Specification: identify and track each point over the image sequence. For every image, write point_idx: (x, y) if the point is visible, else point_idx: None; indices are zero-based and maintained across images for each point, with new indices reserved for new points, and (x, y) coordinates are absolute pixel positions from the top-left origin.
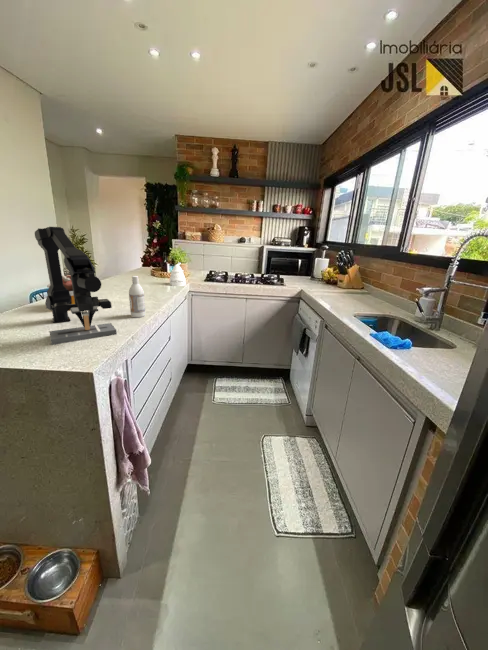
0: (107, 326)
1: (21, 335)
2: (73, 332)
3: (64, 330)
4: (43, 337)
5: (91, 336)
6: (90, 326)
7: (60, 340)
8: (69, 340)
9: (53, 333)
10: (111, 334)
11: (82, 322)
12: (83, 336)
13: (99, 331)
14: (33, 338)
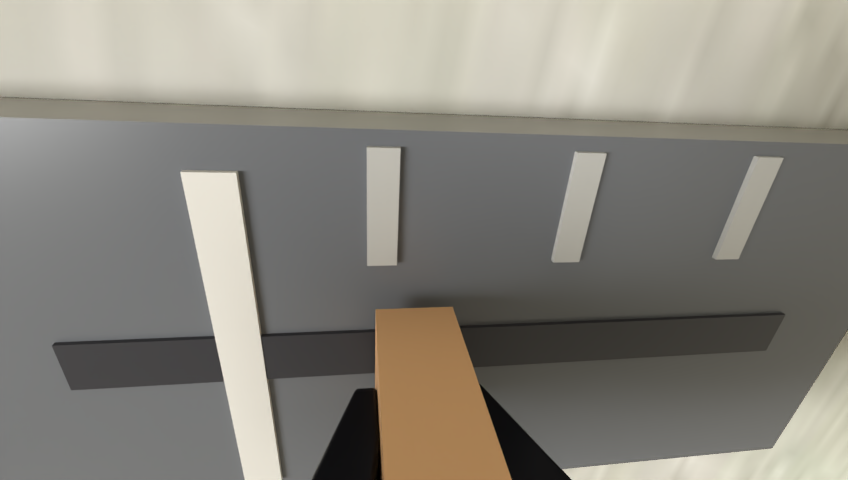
0: (58, 393)
1: (842, 476)
2: (607, 318)
3: (654, 425)
4: None
5: (385, 119)
6: None
7: (817, 134)
8: (695, 127)
9: (787, 372)
10: (5, 100)
11: (528, 464)
12: (517, 128)
13: (211, 173)
14: (837, 393)
